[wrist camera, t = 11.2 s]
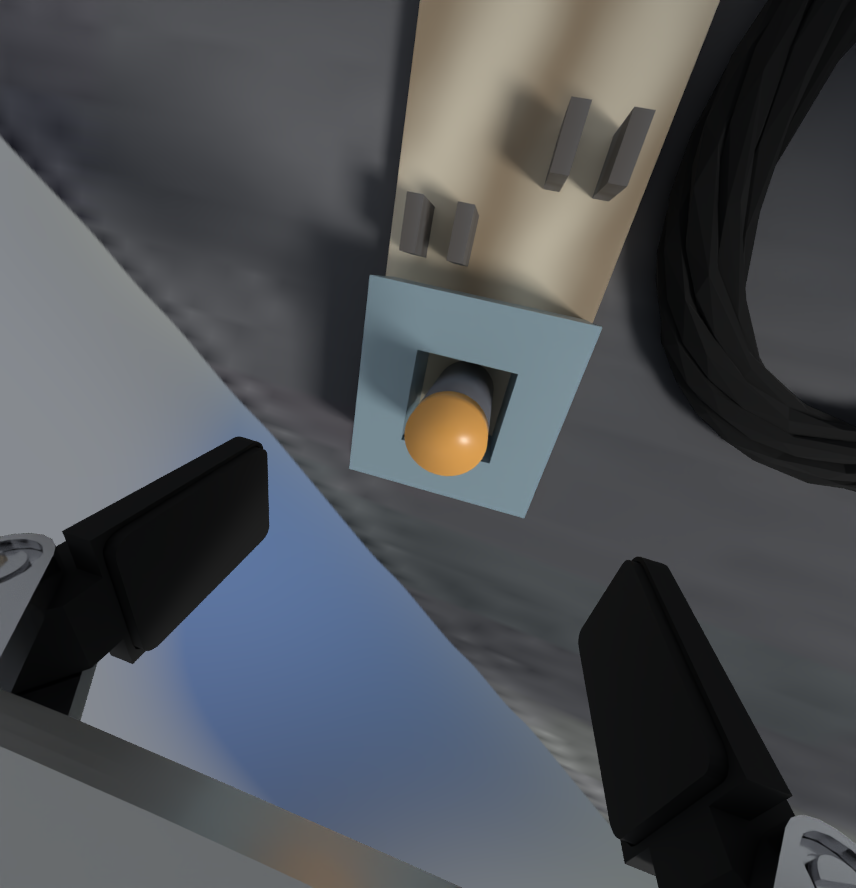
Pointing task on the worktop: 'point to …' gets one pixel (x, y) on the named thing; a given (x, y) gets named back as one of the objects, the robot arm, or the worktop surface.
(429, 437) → the connector plug
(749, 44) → the cable lock
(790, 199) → the worktop surface
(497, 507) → the end holder
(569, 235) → the board
